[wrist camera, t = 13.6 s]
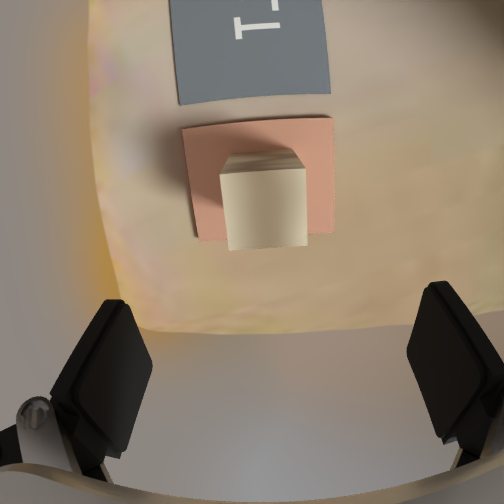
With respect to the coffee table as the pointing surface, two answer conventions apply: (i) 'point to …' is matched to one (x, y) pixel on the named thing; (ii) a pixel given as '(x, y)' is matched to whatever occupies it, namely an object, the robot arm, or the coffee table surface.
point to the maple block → (264, 200)
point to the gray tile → (248, 48)
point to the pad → (254, 140)
